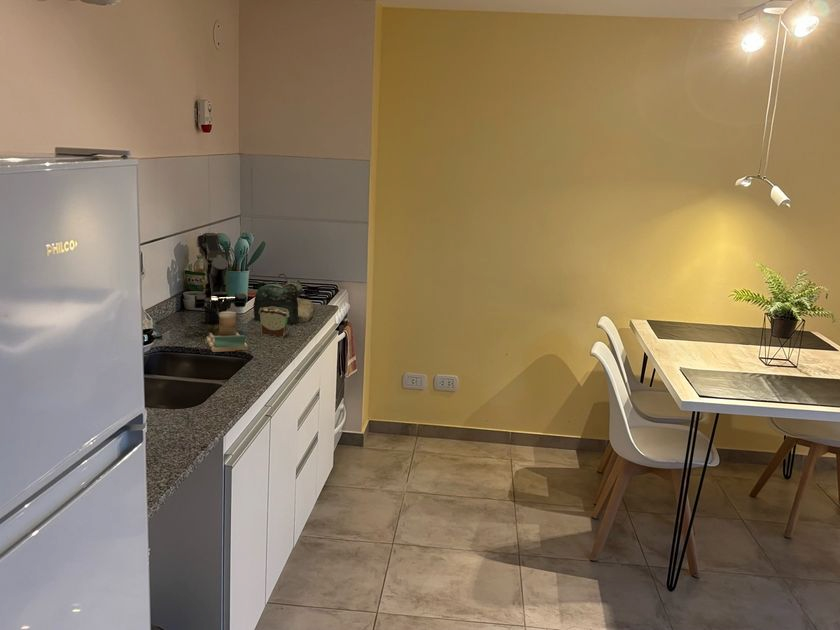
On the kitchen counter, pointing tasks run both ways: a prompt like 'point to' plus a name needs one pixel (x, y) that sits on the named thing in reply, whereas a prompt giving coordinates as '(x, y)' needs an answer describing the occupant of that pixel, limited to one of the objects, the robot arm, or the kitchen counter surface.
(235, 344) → the maple mount
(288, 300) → the ceramic cat
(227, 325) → the brown cup
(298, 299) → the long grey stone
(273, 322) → the food container
